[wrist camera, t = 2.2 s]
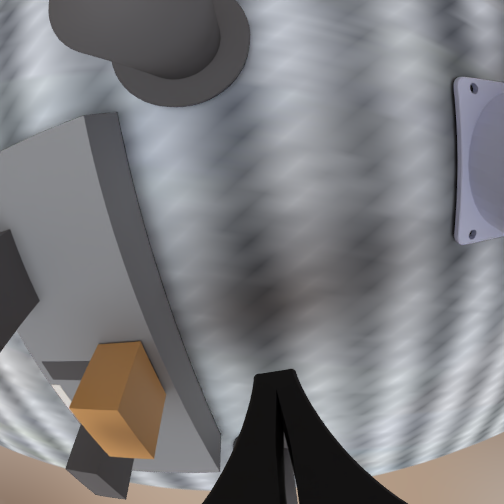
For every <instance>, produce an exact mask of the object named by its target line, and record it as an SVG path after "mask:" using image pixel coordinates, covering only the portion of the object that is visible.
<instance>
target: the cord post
mask: <svg viewBox="0 0 504 504" xmlns="http://www.w3.org/2000/svg"><path fill="white" fill-rule="evenodd" d="M238 437H239V436H238ZM238 437H237V438H236V439H235V441H234V444H233V449H234V447H235V444H236V442H237V439H238ZM284 457H285V489H286V499H287V504H298V502H297V495H296V487H295V480H294V472H293V467H292V463H291V459H290V455H289V451H288V447H287V443H286V438H285V434H284Z"/></svg>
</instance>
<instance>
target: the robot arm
mask: <svg viewBox="0 0 504 504" xmlns="http://www.w3.org/2000/svg"><path fill="white" fill-rule="evenodd" d="M470 85H472V87H473V92H471V90H470ZM454 96H455V108H456V123H457V149H458V177H457V204H456V219H455V231H454V238H455V240H456V241H457V242H458V243H459V244H461V245H466V244H471V243H475V242H480V241H485V240H489V239H494V238H499V237H503V236H504V83H503V82H497V81H491V80H484V79H478V78H470V77H457V78H456V79H455V81H454ZM471 230H472V233H471V235H470V236H469V233H470V232H471ZM284 434H285V438H286V443H287V447H288V451H289V455H290V459H291V463H292V467H293V471H294V475H295V479H296V484H297V490H298V497H299V504H408V503H406V502H405V501H403V500H402V499H400V498H398V497H397V496H396V495H394V494H393V493H392V492H390V491H389V490H388V489H386V488H385V487H384V486H383V485H381V484H380V483H379V482H378V481H377V480H375V479H374V478H373V477H372V476H371V475H370V474H369V473H368V472H366V471H365V470H364V469H363V468H362V467H361V466H360V465H359V464H358V463H357V462H356V461H355V460H354V459H353V458H352V457H351V456H350V455H349V454H348V453H347V452H346V450H345V449H344V448H343V447H342V446H341V445H340V444H339V442H338V441H337V440H336V439H335V438H334V436H333V435H332V434H331V432H330V431H329V430H328V428H327V427H326V426H325V424H324V423H323V422H322V420H321V419H320V417H319V416H318V414H317V413H316V411H315V409H314V408H313V406H312V405H311V403H310V401H309V400H308V398H307V396H306V394H305V392H304V390H303V388H302V386H301V384H300V382H299V380H298V377H297V374H296V371H295V370H293V369H288V370H282V371H275V372H269V373H262V374H256V375H255V376H254V383H253V389H252V395H251V399H250V403H249V407H248V410H247V414H246V417H245V420H244V423H243V426H242V429H241V432H240V434H239V437H238V439H237V442H236V444H235V447H234V449H233V451H232V454H231V456H230V458H229V460H228V462H227V464H226V466H225V468H224V470H223V472H222V473H221V475H220V477H219V478H218V480H217V482H216V484H215V485H214V487H213V488H212V490H211V492H210V493H209V495H208V496H207V498H206V499H205V500H204V502H203V503H202V504H287V499H286V489H285V457H284Z"/></svg>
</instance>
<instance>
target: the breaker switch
mask: <svg viewBox="0 0 504 504" xmlns="http://www.w3.org/2000/svg"><path fill="white" fill-rule="evenodd" d="M165 398H166V393H165V391H164V389H163V387H162V385H161V383H160V381H159V379H158V377H157V375H156V373H155V371H154V369H153V367H152V365H151V363H150V361H149V358H148V356H147V354H146V352H145V350H144V348H143V345H142V343H141V341H138V342H125V343H111V344H98V345H97V348H96V350H95V352H94V354H93V356H92V358H91V360H90V362H89V364H88V366H87V369H86V371H85V373H84V375H83V377H82V379H81V382H80V384H79V386H78V388H77V390H76V393H75V395H74V397H73V400H72V402H71V404H70V407H69V409H70V410H71V411H72V413H73V414H74V415H75V417H76V418H77V419H78V420H79V422H80V423H81V424H82V425H83V427H84V428H85V429H86V430H87V431H88V433H89V434H90V435H91V436H92V437H93V438H94V440H95V441H96V442H97V443H98V444H99V445H100V446H101V448H102V449H103V450H104V451H105V452H106V453H107V454H108V455H109V456H111V457H123V458H138V459H154V457H155V451H156V446H157V440H158V435H159V429H160V424H161V418H162V413H163V408H164V403H165Z"/></svg>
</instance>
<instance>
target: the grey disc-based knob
mask: <svg viewBox="0 0 504 504" xmlns="http://www.w3.org/2000/svg"><path fill="white" fill-rule="evenodd" d="M49 19H50V23H51V26H52V29H53V31H54V33H55V34H56V36H57V37H58V38H59V40H60V41H61V42H63V43H64V44H65V45H66V46H68V47H69V48H71V49H73V50H75V51H78V52H81V53H84V54H88V55H92V56H95V57H99V58H102V59H105V60H109V61H112V65H113V68H114V71H115V73H116V75H117V77H118V79H119V81H120V82H121V83H122V85H123V86H124V87H125V88H126V89H127V90H128V91H129V92H130V93H131V94H133V95H134V96H136V97H137V98H139V99H141V100H143V101H145V102H148V103H151V104H154V105H159V106H166V107H185V106H192V105H196V104H199V103H202V102H205V101H207V100H210V99H212V98H213V97H215V96H217V95H219V94H220V93H221V92H223V91H224V90H225V89H226V88H228V87H229V86H230V85H231V84H232V83H233V82H234V80H235V79H236V78H237V77H238V75H239V74H240V72H241V70H242V68H243V66H244V64H245V62H246V59H247V55H248V50H249V44H250V30H249V24H248V21H247V18H246V15H245V13H244V11H243V10H242V8H241V6H240V5H239V4H238V3H237V1H236V0H49Z"/></svg>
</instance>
